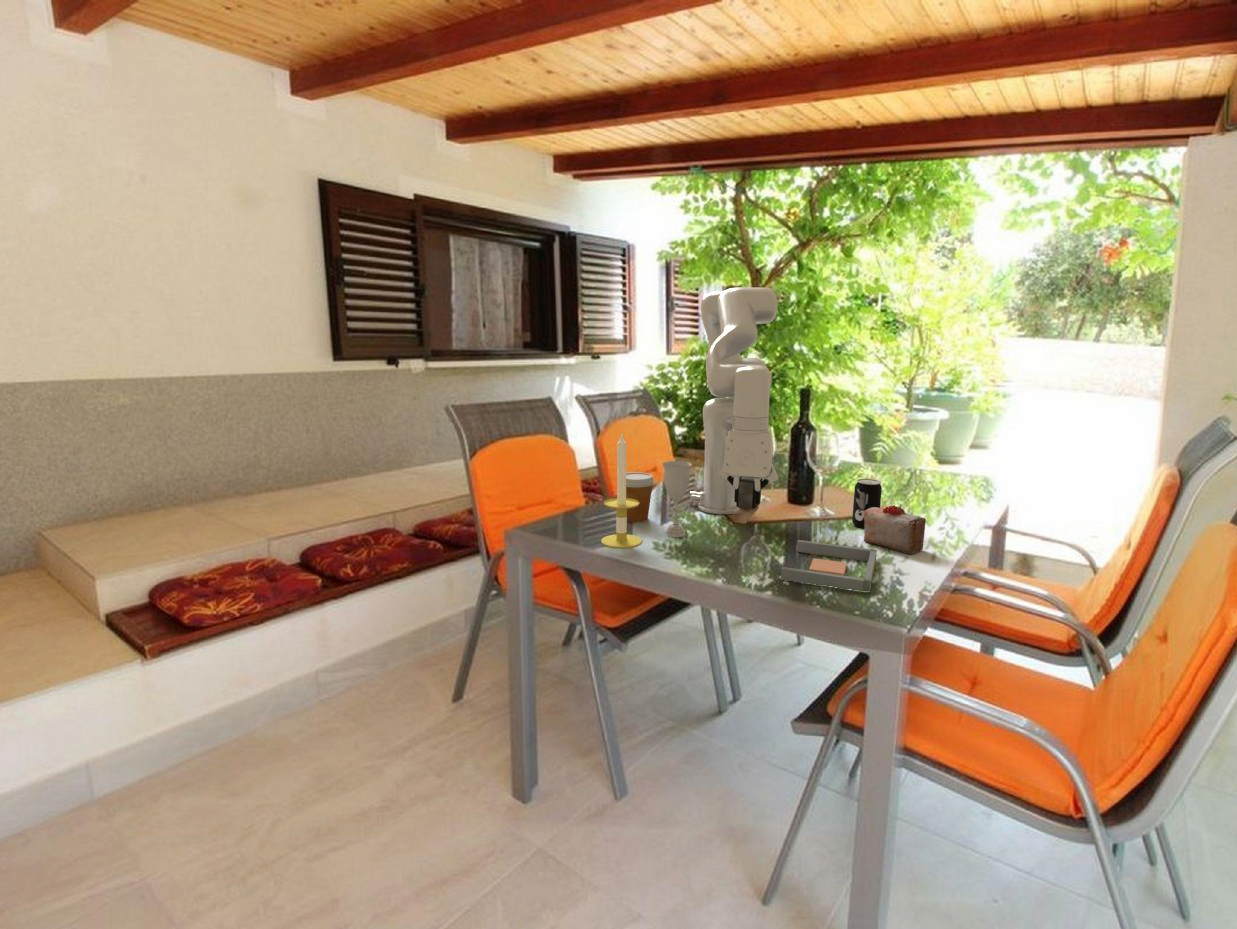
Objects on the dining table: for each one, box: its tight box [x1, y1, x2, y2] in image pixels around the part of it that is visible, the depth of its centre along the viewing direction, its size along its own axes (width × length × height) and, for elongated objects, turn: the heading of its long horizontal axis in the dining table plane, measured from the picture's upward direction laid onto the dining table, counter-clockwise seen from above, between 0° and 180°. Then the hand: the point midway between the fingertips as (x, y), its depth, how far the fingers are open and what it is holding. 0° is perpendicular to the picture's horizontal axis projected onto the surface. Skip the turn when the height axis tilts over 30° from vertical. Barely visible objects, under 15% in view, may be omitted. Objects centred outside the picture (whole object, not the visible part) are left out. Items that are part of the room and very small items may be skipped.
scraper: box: [733, 477, 760, 524], centre depth 149 cm, size 3×13×8 cm, turn 156°
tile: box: [808, 558, 847, 576], centre depth 145 cm, size 7×7×2 cm
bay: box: [780, 539, 878, 591], centre depth 144 cm, size 17×20×2 cm
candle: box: [600, 433, 643, 550], centre depth 160 cm, size 10×10×27 cm
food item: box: [863, 504, 927, 555], centre depth 159 cm, size 14×8×10 cm, turn 37°
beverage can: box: [851, 478, 883, 529], centre depth 175 cm, size 7×7×12 cm
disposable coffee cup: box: [626, 471, 655, 523], centre depth 180 cm, size 10×10×12 cm
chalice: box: [661, 460, 692, 538], centre depth 167 cm, size 7×7×18 cm
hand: (747, 505), depth 149 cm, fingers closed on scraper, 2 cm apart
